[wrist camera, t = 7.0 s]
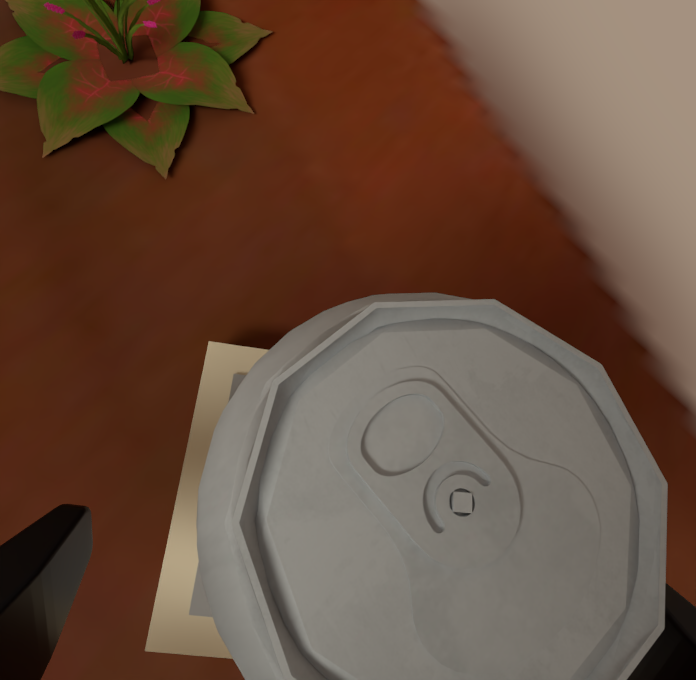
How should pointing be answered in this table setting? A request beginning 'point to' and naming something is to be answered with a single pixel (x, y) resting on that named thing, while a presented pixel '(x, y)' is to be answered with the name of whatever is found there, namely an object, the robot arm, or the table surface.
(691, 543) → the table surface
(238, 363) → the stand
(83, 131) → the lily flower
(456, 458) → the beer can
